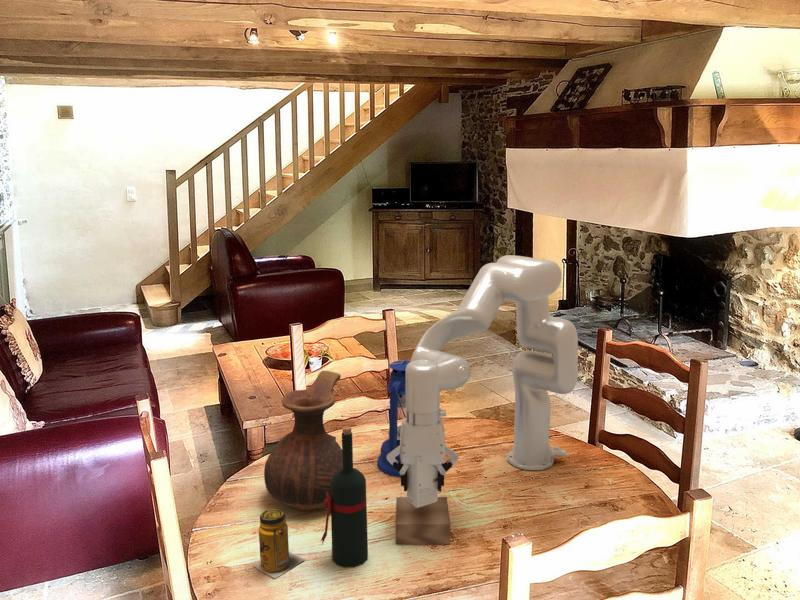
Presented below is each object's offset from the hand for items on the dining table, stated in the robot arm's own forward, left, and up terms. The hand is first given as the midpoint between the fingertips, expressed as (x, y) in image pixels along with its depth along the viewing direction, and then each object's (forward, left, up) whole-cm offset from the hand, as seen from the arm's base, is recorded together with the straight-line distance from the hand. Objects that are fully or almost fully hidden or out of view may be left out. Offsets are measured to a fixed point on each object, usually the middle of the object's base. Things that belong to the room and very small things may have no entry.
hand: (422, 487), depth 163 cm
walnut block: (0, 0, -11) cm, 11 cm away
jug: (+28, -15, -11) cm, 34 cm away
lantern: (+4, -33, -11) cm, 35 cm away
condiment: (+31, +13, -11) cm, 35 cm away
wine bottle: (+17, +11, -11) cm, 23 cm away
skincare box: (0, 0, -3) cm, 3 cm away
